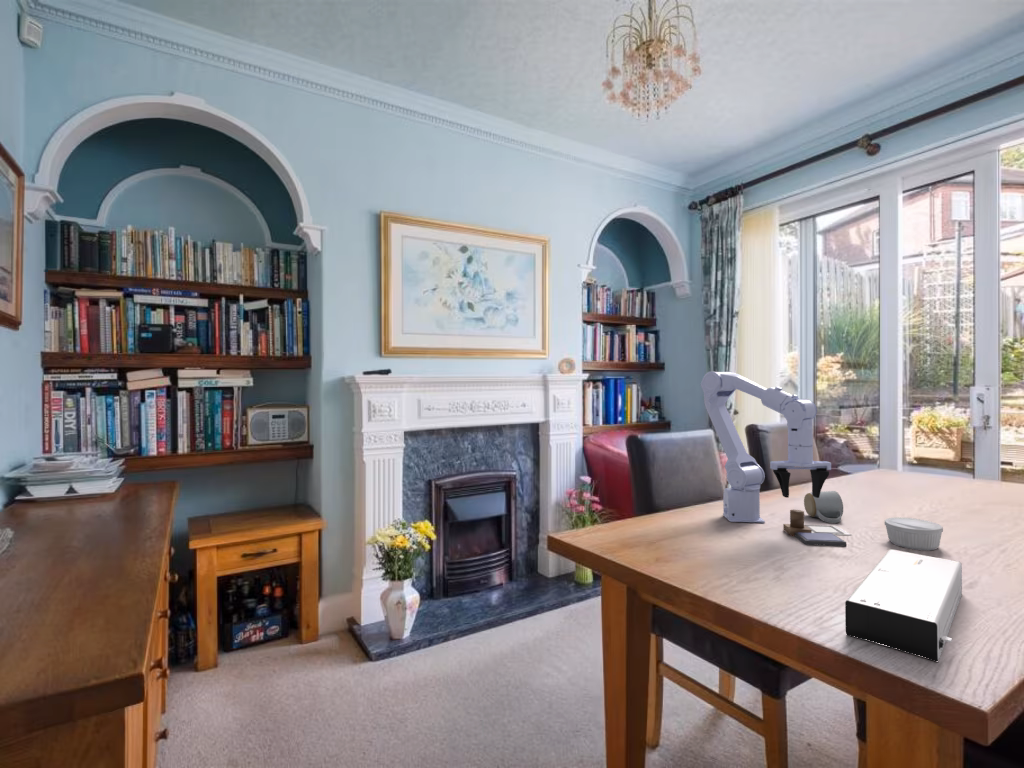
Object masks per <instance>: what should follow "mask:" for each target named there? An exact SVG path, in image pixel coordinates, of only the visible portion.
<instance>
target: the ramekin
mask: <svg viewBox="0 0 1024 768" xmlns="http://www.w3.org/2000/svg"><path fill="white" fill-rule="evenodd" d="M884 526H885V528H886V533H887V534H886V535H887V537H888V540H889V541H890V542H891V544H893V545H896V546H897V547H902V548H904V549H905V548H906V549H909V550H919V551H933V550H934V551H935V550H936V549H938V548H939V547H940V545H941V538H942V533H943V531H944V528H943V526H942V525H941V524H939V523H936V522H933V521H929V520H924V519H920V518H912V517H902V516H901V517H899V516H897V517H889V518H886V519H884Z"/></svg>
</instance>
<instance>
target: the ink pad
mask: <svg viewBox="0 0 1024 768" xmlns="http://www.w3.org/2000/svg"><path fill="white" fill-rule="evenodd" d="M794 537H795V538H796V539H798V540H799V541H801V542H802V543H803V544H804V545H807V546H829V547H831V546H833V547H847V541H845V540H844V539H842V538H840V537H839V536H838V535H834V534H832V533H802V532H795V536H794Z"/></svg>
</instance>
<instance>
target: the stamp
mask: <svg viewBox="0 0 1024 768" xmlns="http://www.w3.org/2000/svg"><path fill="white" fill-rule="evenodd" d="M805 525H806V524H805V511H804V510H801V509H790V510H789V523H783V526H782V528H783V531H784V532H786V534H788V535H789V536H791V537H795V532H802V533H812V530H811V529H810V528H808V527H807V526H805Z"/></svg>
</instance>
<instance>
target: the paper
mask: <svg viewBox="0 0 1024 768" xmlns="http://www.w3.org/2000/svg"><path fill="white" fill-rule="evenodd" d="M804 525H805V526H807V527H808V528H810V529H811V530H812V533H832V534H834V535H836V536H852V534H851V533H850V532H848V531H846V530H845V529H843V528H841V527H840V526H837V525H825V524H822V525H819V524H804Z"/></svg>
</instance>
